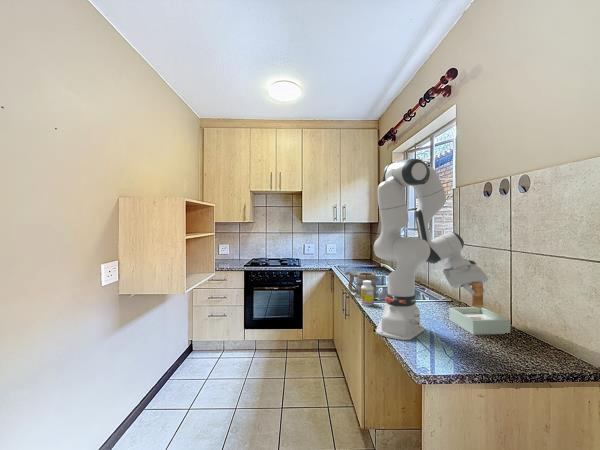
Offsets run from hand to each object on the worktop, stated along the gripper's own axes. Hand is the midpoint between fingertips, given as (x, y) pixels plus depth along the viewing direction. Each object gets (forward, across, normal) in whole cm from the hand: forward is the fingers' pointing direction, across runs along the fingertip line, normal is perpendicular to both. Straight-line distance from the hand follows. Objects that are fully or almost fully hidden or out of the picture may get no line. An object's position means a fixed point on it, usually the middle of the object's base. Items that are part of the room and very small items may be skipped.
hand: (478, 293), depth 125 cm
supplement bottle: (-24, -22, +45) cm, 56 cm away
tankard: (-36, -15, +57) cm, 69 cm away
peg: (+4, 0, +5) cm, 6 cm away
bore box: (+10, 0, +10) cm, 14 cm away
